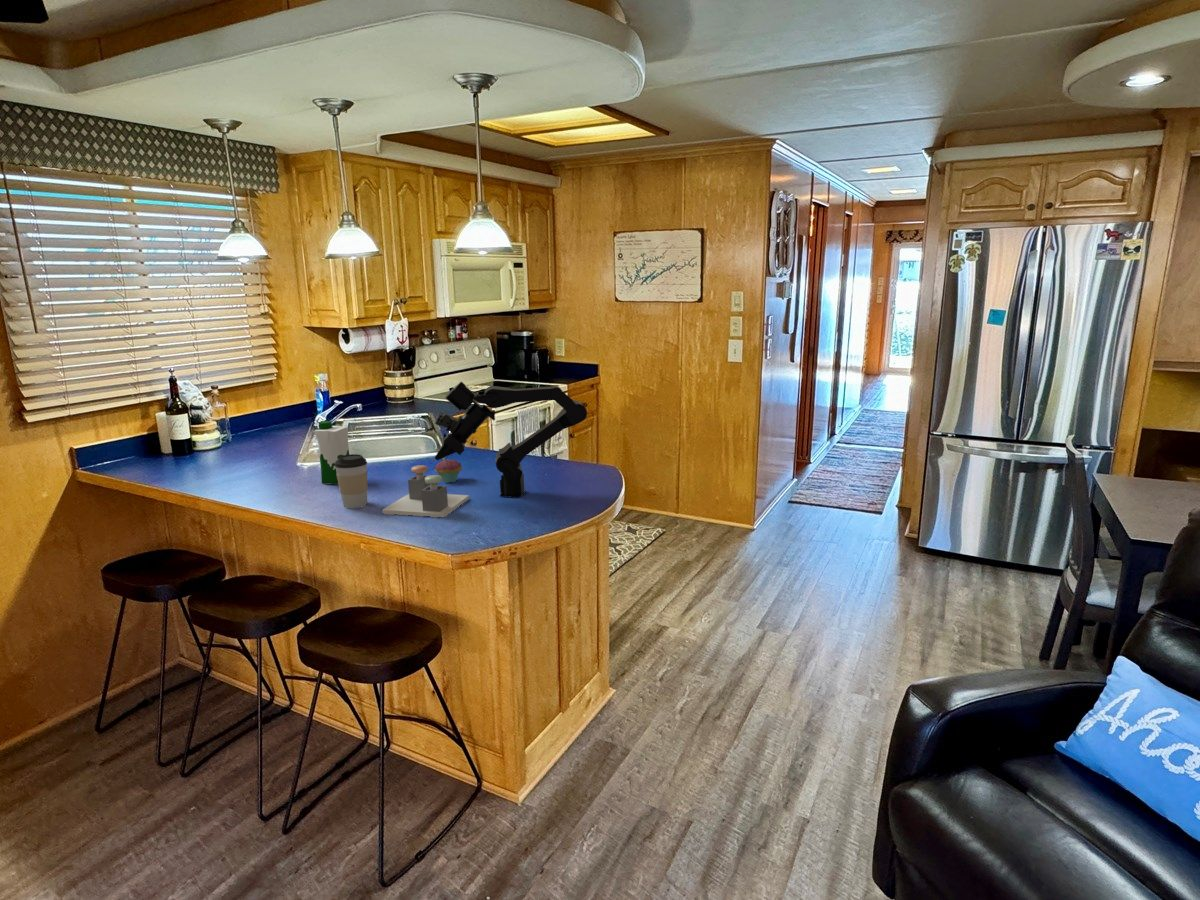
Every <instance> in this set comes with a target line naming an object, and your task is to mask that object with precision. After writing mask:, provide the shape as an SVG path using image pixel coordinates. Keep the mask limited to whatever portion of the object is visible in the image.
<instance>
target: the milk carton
mask: <svg viewBox="0 0 1200 900" xmlns="http://www.w3.org/2000/svg"><path fill="white" fill-rule="evenodd" d="M317 424H318V428H316V429H314V430H313V432H314V435H315V438H316V441H317V447H318V454H319V463H320V464H319V465H320V475H321V477H320V478H321V484H322V483H331V484H330V485H339V484H338V479H337V471H336V467H335V462H336V461H337V460H338V458H339V457H340V456H344V455H350V446H349V426H345V425H344V426H342V425H333V424H332V421H330V420H322V421H321V420H320V421H319V422H318V423H317Z"/></svg>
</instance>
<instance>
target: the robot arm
mask: <svg viewBox="0 0 1200 900" xmlns="http://www.w3.org/2000/svg"><path fill="white" fill-rule="evenodd" d="M444 399H446V400H447V401H448V402H449V403H450V404H451V405H453V407H455V408H456V409H457V410H459V411H461V410H462V411H466V410H467V411H466V412H465V413H464V414H463V415H460V416H459V417H458V418H457V417H454V416H452V415H450V414H448V413H445V412H442V411H439V412H438V414H437V417H436V419H435V422H434V424H435V425H437V426H438V427H439V426H440V427H444V429H445V431H446V432H448V433H447V434H446V433H443V437H442V441H443V442H442V444H441V445H440V446H441V447H440V448H439V450H438V451H437V453H436V455H435V456H434V459H435V460H436V461H439V460H443V458H444V457H445V458H446V457H449V456H450V455H454V454H456V453H457V454H458V455H459V456H461V455H462V454H463V452H464V451H465V444H466V443H467V442H468V440H469V439H470V437H471V436H472V435H474V434H476V432H477V430H478V428H480V426H481V425H483V423H484V422H485V421H486V420H487V419H488V418H490V419H491V420H492V421H496V416H495V415H496V410H495V409H497V408H501V407H505V406H509V405H512V404H515V403H528V402H531V403H532V402H544V401H554V402H556V403H557V404H558V405H559V406H560V407H561V408H562V409H561V410H560V411H559V413H557V415H556V416H555V417H554V418H553V419H551V420H550V421H549V422H547V423H545V424H544V425H543V426H542V427H540V428H538V429H537V430H536V431H535V432H533V433H531V434H530V435H528V436H527V437H525V438H524V439H523V440H522V441H520V442H519V443H516V444H514V445H512V444H511V442H508V443H506V445H505V446H503V447H501V448H499V449H498V452H497V453H496V455H495V459H494V460H495V467H496V469H497V471H499V472H500V473H502V475H500V480H499V489H500V490H499V491H500V494H499V496H500V497H502V496H508V497H507V498H521V497H522V496H523V495H524V494H525V493H526V492H527V489H525V477H524V475H525V474H524V473H523V469H522V465H521V464H520V463H522V461H523V460H524V459H525V458H526V457H527V455H528V454H531V453H532V452H533V451H534V450H536V449H537V448H539V447H540V446H541V445H543V444H545V442H546V443H547V441H548V440H550V439H552V438H553V437H555V436H556V435H557V434H558V433H560V432H561V431H563V430H565V429H567V428H568V429H569V428H571V427H574V426H577V425H578V424H581V423H583V422H584V421H585V420H586V418H587V415H588V410H587V408H586V407H585V405H584V404H583V403H582V402H581V401H579V400H573V399H572V398H571V397H570V396H568V394H567V393H565V391H563V390H562V388H561V387H560V386H557V385H552V386H543V387H542V386H541V387H526V388H509V387H504V386H498V385H495V386H494V385H491V386H488V387H487V388H486V389H484V390H481V391H476V392H473V391H472V390H471V389H470V388H468V387H467V385H466V384H465V383H464V382H463V381H460V382H459V383H458V384H457V385H455V386H454V387H452V389H450V391H448V393H447V394H446V395H445V397H444ZM481 404H482V405H481ZM469 407H470V408H469ZM524 490H525V491H526V492H525V491H524ZM524 492H525V493H524ZM523 493H524V494H523ZM522 494H523V495H522ZM521 495H522V496H521ZM509 496H511V497H509ZM520 496H521V497H520Z"/></svg>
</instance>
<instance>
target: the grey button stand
mask: <svg viewBox="0 0 1200 900" xmlns="http://www.w3.org/2000/svg"><path fill="white" fill-rule="evenodd" d="M423 476H424V480H417V476H416V475H413V476H412V477H410V478H408V479H407V484H408V486H407V487H408V494H405V495H404V496H403V497H401V498H399V499H397V500H396V501H394V502H393V503H391V504H390V505H388V506H386V507H384V508H383V509H382V514H383V513H384V514H383V515H394V514H397V515H396V516H408V515H413V516H414V517H423V516H430V517H429V518H437V517H445V516H446V517H447V515H448V514H449V513H450V514H451V512H452V511H453V510H454V511H456V510H457V509H458V508H459V506H460V505H461V504H462V505H464V504H465V503H466V502H468V501H469V500H470V495H467V494H452V493H451V494H450V493H448V488H447V487H448V486H447V485H438V484H437V486H438V491H435V490H430V484H428V483H425V477H427V476H428V475H424V474H423ZM468 499H469V500H468ZM467 500H468V501H467ZM465 501H466V502H465ZM464 502H465V503H464ZM463 503H464V504H463ZM462 505H461V506H462ZM457 507H458V508H457ZM456 508H457V509H456ZM455 509H456V510H455ZM454 511H453V512H454ZM453 512H452V513H453ZM450 514H449V515H450ZM449 515H448V516H449ZM413 516H412V517H413ZM446 517H445V518H446Z"/></svg>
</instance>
